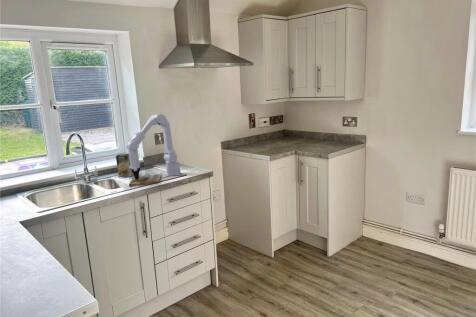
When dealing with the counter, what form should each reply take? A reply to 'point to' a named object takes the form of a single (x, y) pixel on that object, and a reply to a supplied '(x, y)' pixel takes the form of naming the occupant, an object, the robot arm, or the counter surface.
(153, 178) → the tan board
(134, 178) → the lock bar
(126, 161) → the coffee box
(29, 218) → the counter surface
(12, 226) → the counter surface
